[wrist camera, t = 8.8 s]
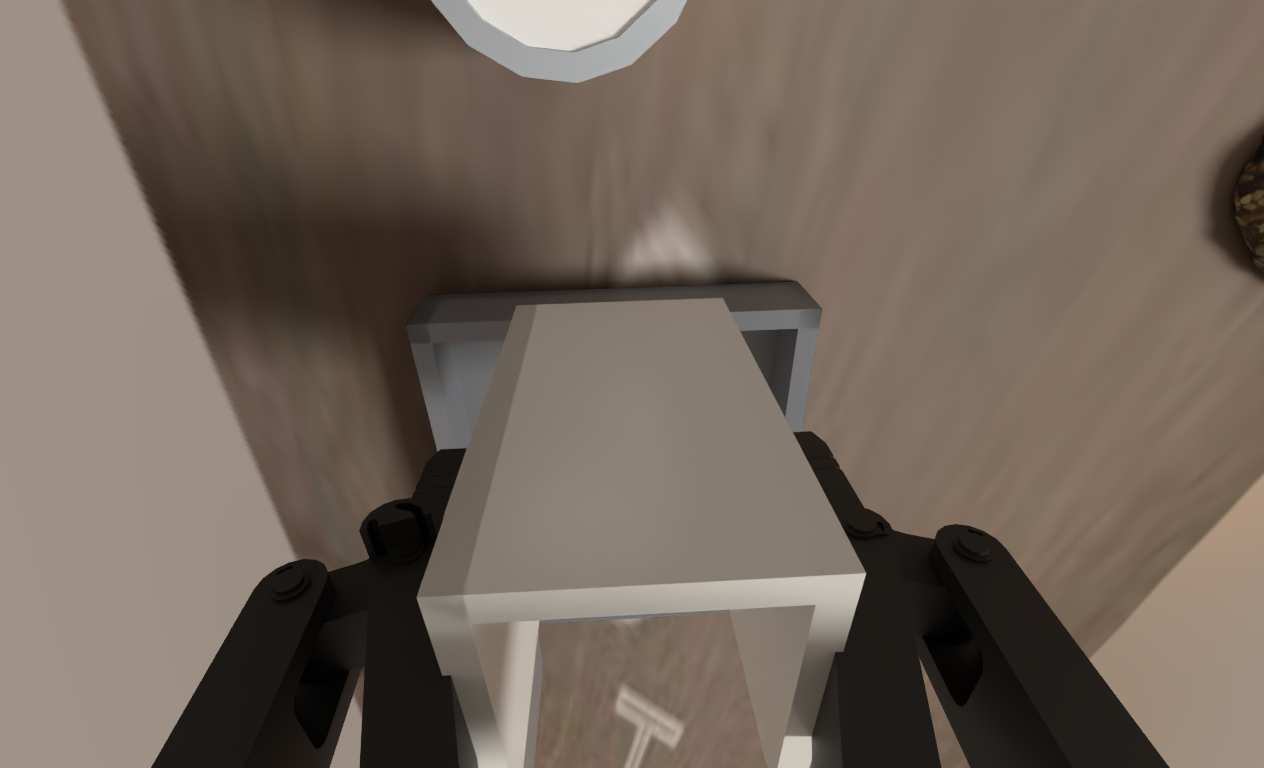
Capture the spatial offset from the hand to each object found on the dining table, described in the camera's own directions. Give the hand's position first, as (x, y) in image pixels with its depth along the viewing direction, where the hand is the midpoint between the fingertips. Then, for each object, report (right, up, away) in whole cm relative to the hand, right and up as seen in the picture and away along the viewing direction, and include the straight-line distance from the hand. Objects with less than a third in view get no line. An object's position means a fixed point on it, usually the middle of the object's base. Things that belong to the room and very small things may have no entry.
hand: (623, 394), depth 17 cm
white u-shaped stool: (0, 0, 0) cm, 0 cm away
